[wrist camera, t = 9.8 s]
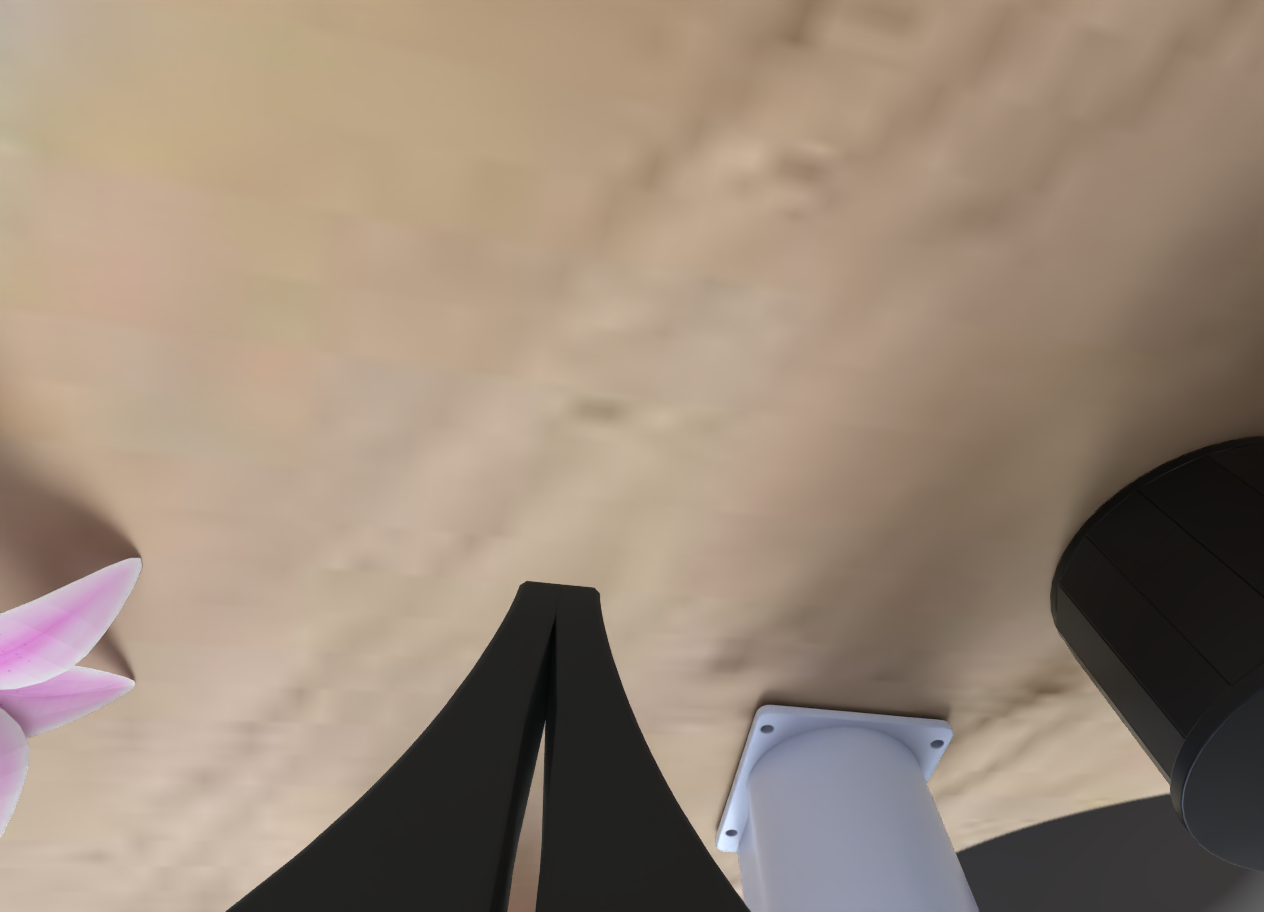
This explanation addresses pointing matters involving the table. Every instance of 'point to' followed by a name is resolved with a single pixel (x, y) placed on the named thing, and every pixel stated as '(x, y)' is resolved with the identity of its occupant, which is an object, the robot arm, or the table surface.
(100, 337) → the table surface
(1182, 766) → the pot lid
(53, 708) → the lily
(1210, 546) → the pot
